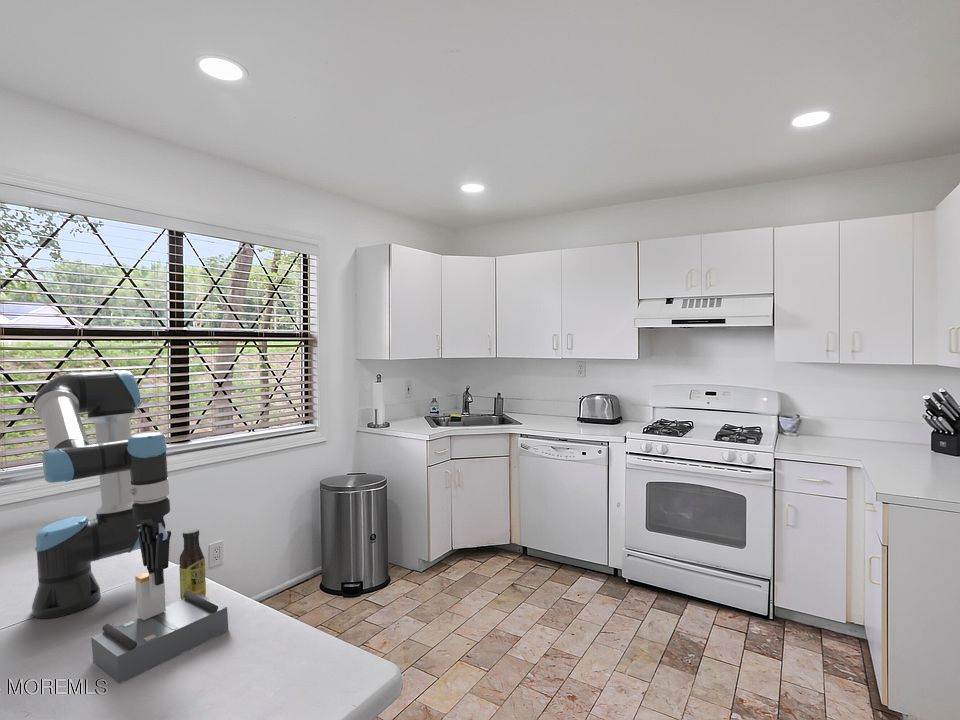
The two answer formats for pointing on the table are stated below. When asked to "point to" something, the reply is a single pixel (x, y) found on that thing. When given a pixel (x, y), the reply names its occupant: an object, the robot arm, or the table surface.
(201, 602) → the pair of dark rails
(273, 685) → the table surface
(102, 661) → the switch panel
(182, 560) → the sauce bottle
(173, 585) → the table surface
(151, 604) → the lever
